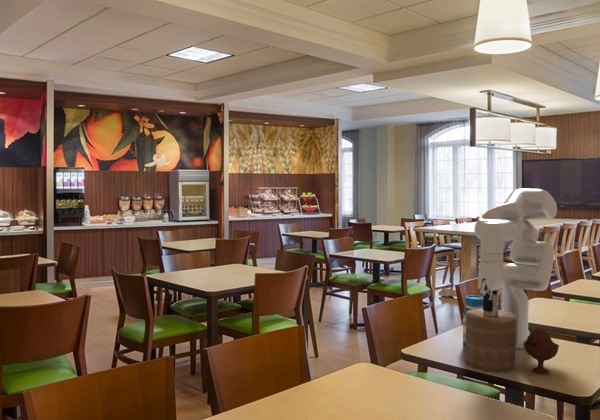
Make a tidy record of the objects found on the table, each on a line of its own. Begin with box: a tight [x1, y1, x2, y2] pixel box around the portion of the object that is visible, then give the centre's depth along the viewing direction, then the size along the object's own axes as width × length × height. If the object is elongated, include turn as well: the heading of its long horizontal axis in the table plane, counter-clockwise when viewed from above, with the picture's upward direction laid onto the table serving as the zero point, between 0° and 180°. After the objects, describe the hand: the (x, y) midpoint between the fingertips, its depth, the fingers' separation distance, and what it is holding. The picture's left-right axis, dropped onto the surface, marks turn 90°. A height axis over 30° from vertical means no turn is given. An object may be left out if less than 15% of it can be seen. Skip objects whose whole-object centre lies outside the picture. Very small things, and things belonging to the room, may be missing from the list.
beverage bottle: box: [462, 294, 483, 351], centre depth 206 cm, size 8×8×20 cm
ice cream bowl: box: [523, 327, 560, 376], centre depth 182 cm, size 11×11×15 cm
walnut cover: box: [464, 293, 517, 374], centre depth 190 cm, size 17×17×24 cm
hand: (490, 309), depth 189 cm, fingers closed on walnut cover, 3 cm apart
